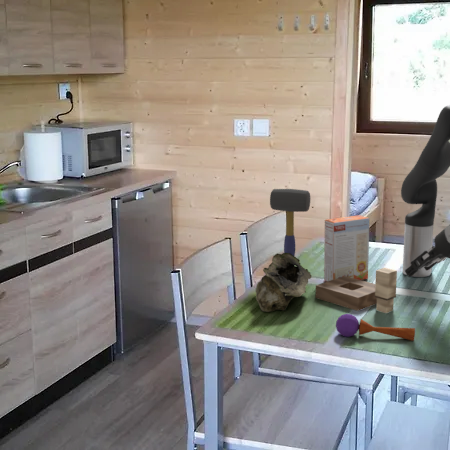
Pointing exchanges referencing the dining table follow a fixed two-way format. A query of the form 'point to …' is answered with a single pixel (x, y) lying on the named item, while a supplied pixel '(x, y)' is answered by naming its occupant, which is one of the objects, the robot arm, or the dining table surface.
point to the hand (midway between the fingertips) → (416, 270)
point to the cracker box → (346, 248)
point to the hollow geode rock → (281, 282)
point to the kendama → (369, 328)
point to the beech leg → (385, 289)
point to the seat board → (347, 293)
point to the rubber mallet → (290, 211)
